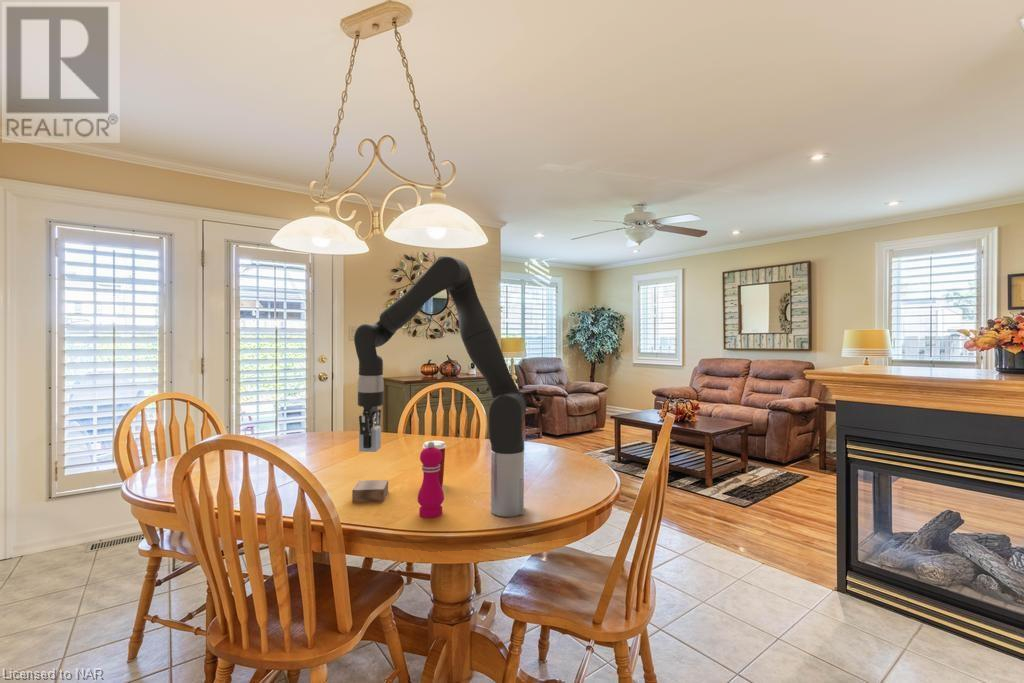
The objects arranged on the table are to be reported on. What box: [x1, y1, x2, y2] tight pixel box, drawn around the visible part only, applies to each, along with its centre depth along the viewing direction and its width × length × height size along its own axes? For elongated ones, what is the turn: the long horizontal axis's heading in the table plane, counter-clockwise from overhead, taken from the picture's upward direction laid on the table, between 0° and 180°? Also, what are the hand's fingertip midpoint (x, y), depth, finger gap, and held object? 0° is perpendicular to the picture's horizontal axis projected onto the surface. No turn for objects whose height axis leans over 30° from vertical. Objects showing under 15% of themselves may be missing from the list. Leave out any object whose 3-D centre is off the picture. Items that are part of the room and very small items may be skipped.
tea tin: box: [358, 425, 382, 453], centre depth 147 cm, size 5×5×7 cm
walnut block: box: [351, 479, 389, 503], centre depth 148 cm, size 9×9×4 cm
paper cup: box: [422, 440, 447, 487], centre depth 159 cm, size 8×8×14 cm
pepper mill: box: [417, 442, 445, 519], centre depth 134 cm, size 7×7×20 cm
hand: (370, 445), depth 147 cm, fingers closed on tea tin, 5 cm apart
